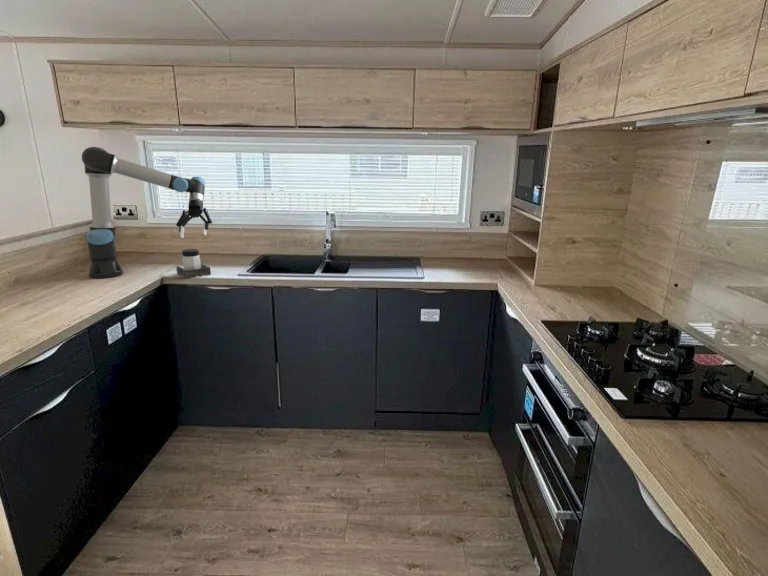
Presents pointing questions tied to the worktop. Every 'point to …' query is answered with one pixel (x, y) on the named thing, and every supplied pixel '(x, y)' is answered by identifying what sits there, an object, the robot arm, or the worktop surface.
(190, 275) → the keeper bracket
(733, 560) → the worktop surface
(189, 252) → the jar
